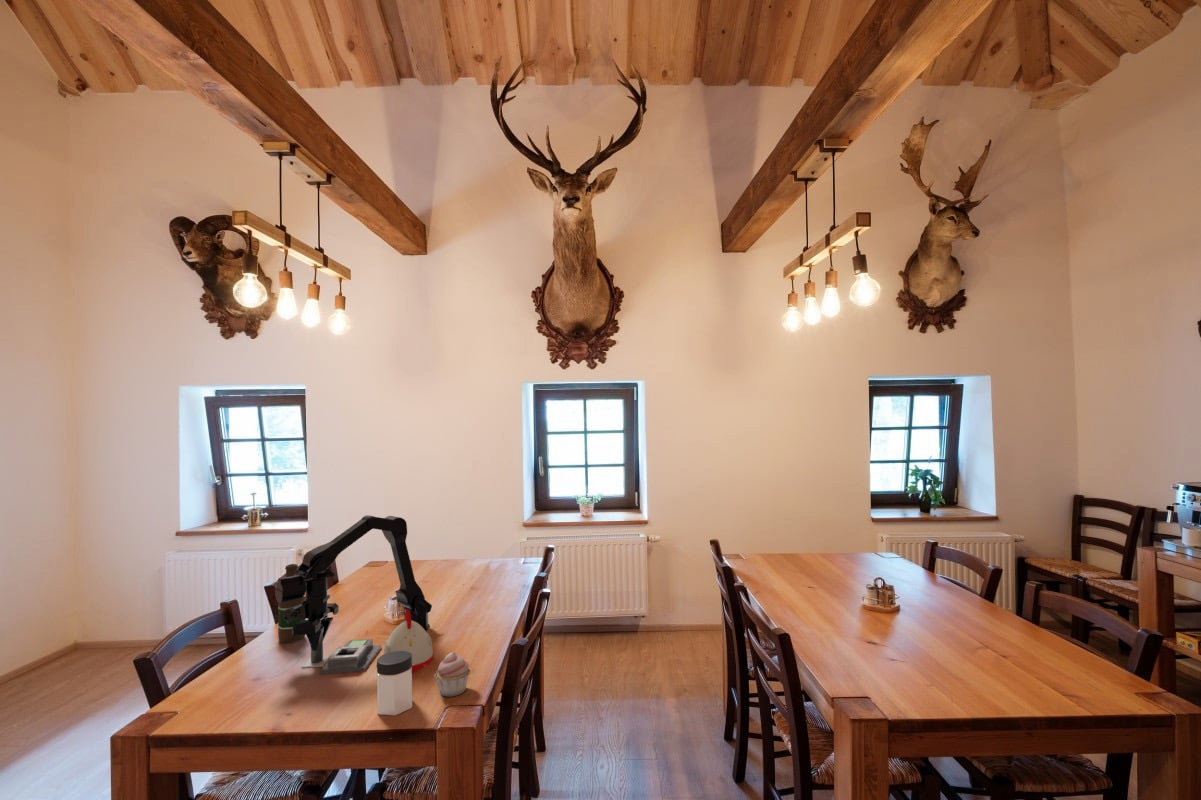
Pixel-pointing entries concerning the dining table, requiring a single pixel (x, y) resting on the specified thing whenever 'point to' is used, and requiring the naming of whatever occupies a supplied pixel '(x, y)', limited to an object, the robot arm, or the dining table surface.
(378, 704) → the jar
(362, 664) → the grey flat framed piece
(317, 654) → the gray capped cylinder
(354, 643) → the on button
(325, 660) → the pad
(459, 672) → the cupcake
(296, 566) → the beer bottle
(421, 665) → the kitchen timer
